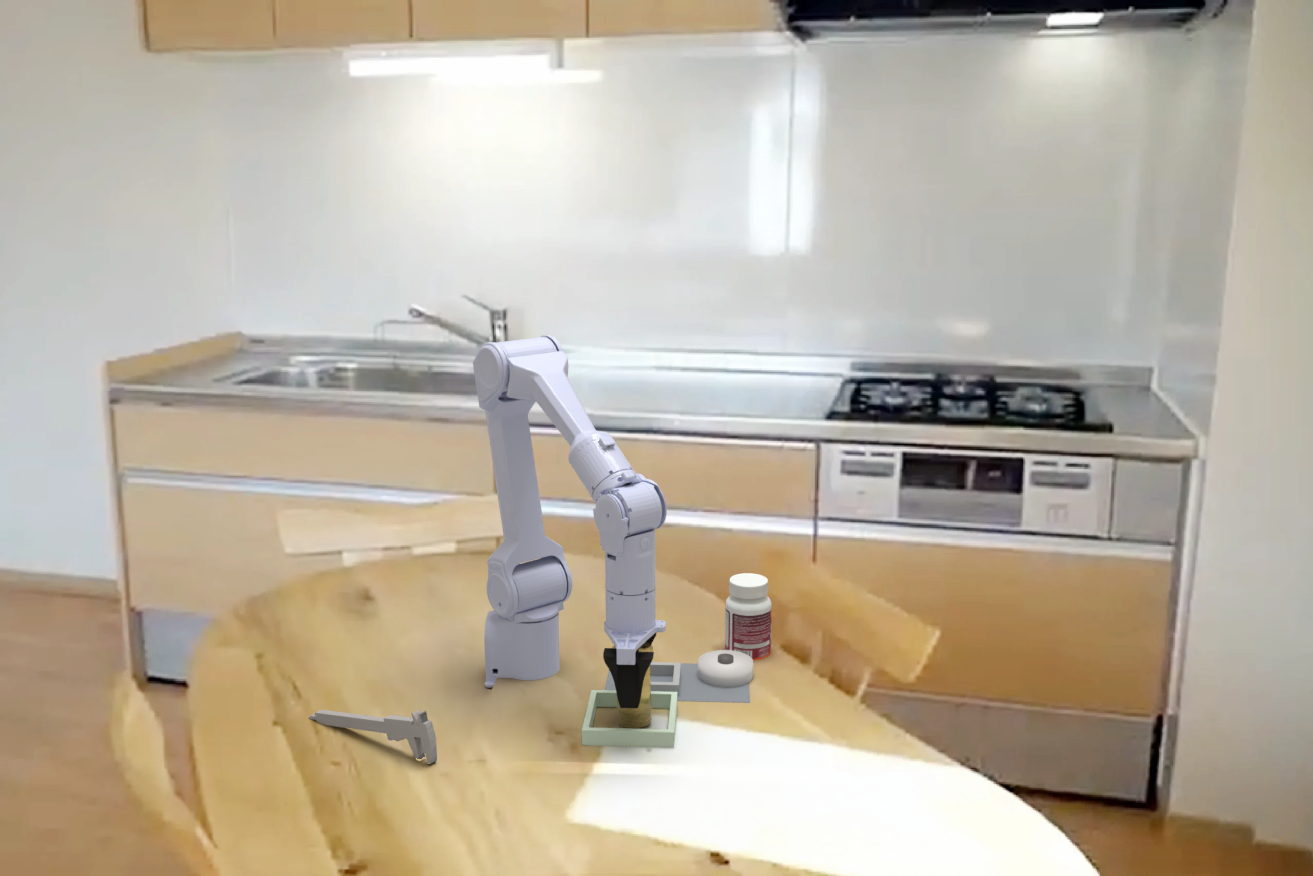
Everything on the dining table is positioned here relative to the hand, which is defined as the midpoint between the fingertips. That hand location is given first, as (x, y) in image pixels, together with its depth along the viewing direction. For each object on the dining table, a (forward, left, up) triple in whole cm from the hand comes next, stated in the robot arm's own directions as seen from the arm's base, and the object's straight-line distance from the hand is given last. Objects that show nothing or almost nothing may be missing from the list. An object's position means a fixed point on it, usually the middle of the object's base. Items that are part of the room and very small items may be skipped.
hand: (631, 697), depth 143 cm
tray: (0, 0, -5) cm, 5 cm away
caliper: (-30, -3, -5) cm, 31 cm away
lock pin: (0, 0, -3) cm, 3 cm away
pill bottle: (+14, +22, -5) cm, 27 cm away
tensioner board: (+5, +12, -5) cm, 14 cm away
